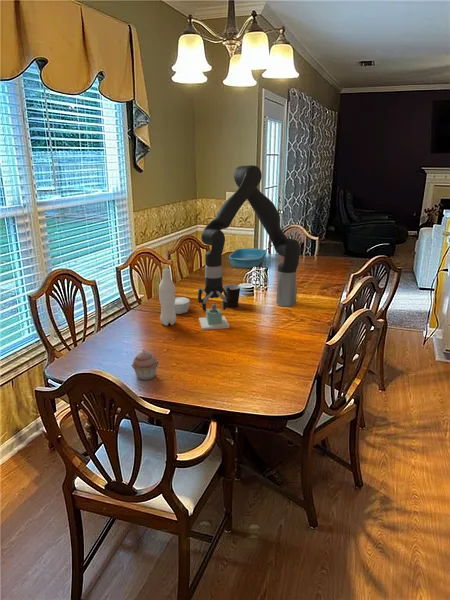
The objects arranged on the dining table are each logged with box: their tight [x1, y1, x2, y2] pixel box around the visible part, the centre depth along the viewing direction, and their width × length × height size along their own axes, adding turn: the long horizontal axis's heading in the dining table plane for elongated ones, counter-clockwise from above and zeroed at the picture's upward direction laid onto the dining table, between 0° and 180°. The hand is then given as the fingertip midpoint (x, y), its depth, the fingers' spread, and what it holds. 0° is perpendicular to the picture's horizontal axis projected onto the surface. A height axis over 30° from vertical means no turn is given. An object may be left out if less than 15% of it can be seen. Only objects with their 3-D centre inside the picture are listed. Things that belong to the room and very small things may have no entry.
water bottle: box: [158, 268, 177, 327], centre depth 196 cm, size 7×7×25 cm
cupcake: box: [131, 349, 160, 381], centre depth 153 cm, size 9×9×10 cm
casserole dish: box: [228, 247, 268, 269], centre depth 303 cm, size 37×22×7 cm, turn 165°
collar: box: [205, 308, 223, 325], centre depth 199 cm, size 6×6×5 cm
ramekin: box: [174, 296, 191, 315], centre depth 215 cm, size 11×11×5 cm
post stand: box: [198, 303, 231, 331], centre depth 199 cm, size 12×12×9 cm
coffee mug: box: [222, 283, 241, 309], centre depth 222 cm, size 12×9×10 cm
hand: (214, 310), depth 198 cm, fingers open, 8 cm apart
